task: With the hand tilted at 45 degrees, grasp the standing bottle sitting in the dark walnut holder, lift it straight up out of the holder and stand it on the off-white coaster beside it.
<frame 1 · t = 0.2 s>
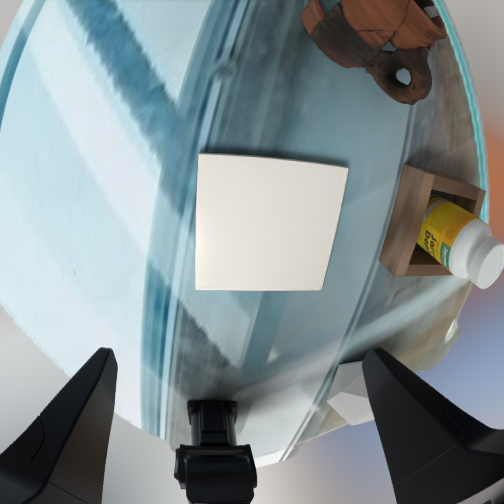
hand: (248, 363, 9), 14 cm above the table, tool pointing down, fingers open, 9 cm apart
broken brown clay pot: (362, 33, 16), on the table
walnut holder: (427, 218, 24), on the table
supplement bottle: (426, 217, 24), resting in walnut holder
off-white coaster: (267, 226, 23), on the table
die: (352, 367, 34), on the table
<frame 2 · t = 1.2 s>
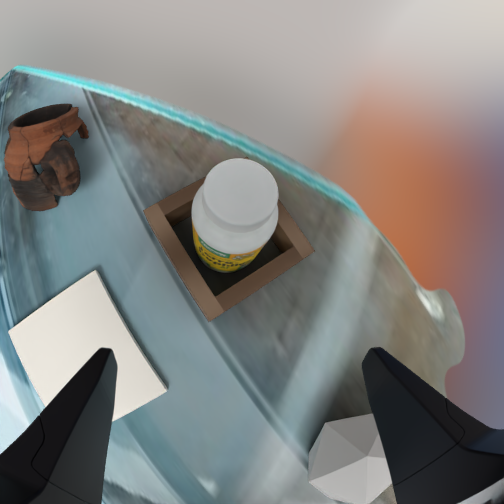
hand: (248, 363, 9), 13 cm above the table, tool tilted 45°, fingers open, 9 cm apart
broken brown clay pot: (59, 173, 23), on the table
walnut holder: (225, 242, 24), on the table
supplement bottle: (225, 242, 24), resting in walnut holder
off-white coaster: (79, 361, 19), on the table
die: (337, 443, 21), on the table
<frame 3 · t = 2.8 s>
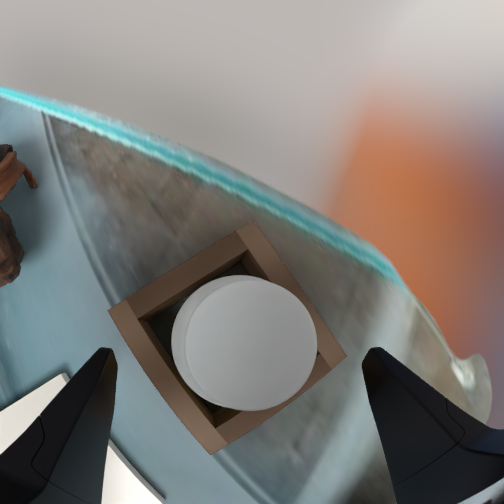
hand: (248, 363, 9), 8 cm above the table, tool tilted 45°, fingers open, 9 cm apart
broken brown clay pot: (7, 236, 16), on the table
walnut holder: (226, 338, 17), on the table
supplement bottle: (225, 338, 17), resting in walnut holder
off-white coaster: (62, 466, 12), on the table
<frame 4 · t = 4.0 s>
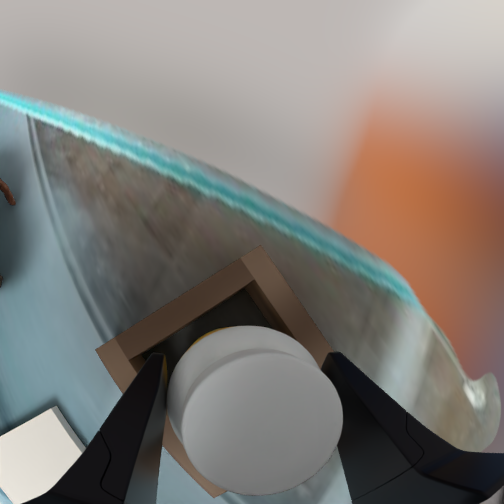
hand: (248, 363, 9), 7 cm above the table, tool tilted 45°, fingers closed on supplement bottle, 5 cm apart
walnut holder: (229, 374, 15), on the table
supplement bottle: (228, 373, 15), resting in walnut holder, touching gripper
off-white coaster: (59, 495, 10), on the table
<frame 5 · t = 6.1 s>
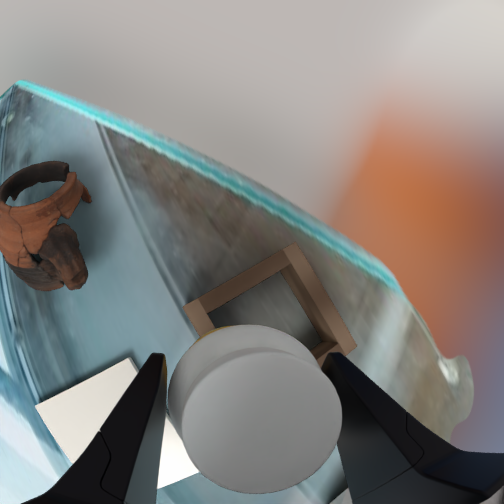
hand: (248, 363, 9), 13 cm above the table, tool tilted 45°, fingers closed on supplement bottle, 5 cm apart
broken brown clay pot: (61, 243, 21), on the table
walnut holder: (266, 329, 22), on the table
supplement bottle: (230, 372, 15), point 6 cm above the table, touching gripper
off-white coaster: (115, 439, 18), on the table
die: (352, 495, 19), on the table
when the fingers open (9 cm above the table, at t = 8.4 s): supplement bottle drops 1 cm, resting on off-white coaster.
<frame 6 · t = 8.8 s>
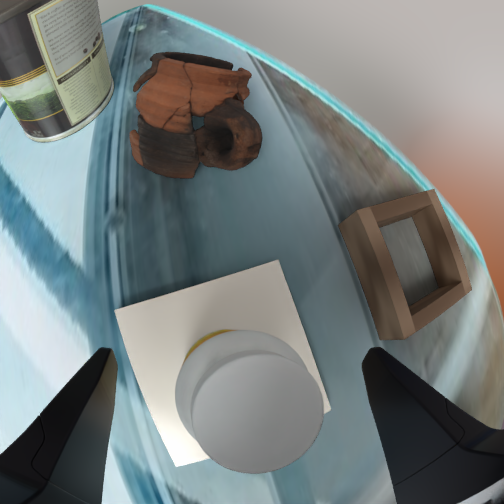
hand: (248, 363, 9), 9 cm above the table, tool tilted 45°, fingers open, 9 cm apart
broken brown clay pot: (195, 139, 21), on the table
walnut holder: (402, 263, 21), on the table
supplement bottle: (226, 371, 16), point 1 cm above the table, touching off-white coaster
off-white coaster: (224, 367, 17), on the table
coffee can: (67, 102, 20), on the table
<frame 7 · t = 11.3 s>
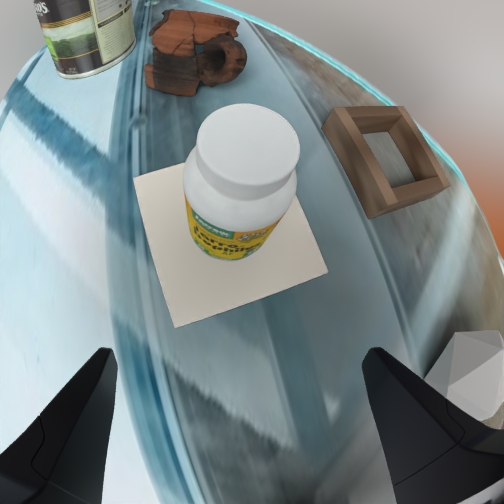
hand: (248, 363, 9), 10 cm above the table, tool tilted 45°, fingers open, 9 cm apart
broken brown clay pot: (196, 73, 24), on the table
walnut holder: (381, 163, 24), on the table
supplement bottle: (227, 225, 20), point 1 cm above the table, touching off-white coaster
off-white coaster: (226, 226, 20), on the table
die: (442, 376, 20), on the table
coffee can: (96, 53, 23), on the table
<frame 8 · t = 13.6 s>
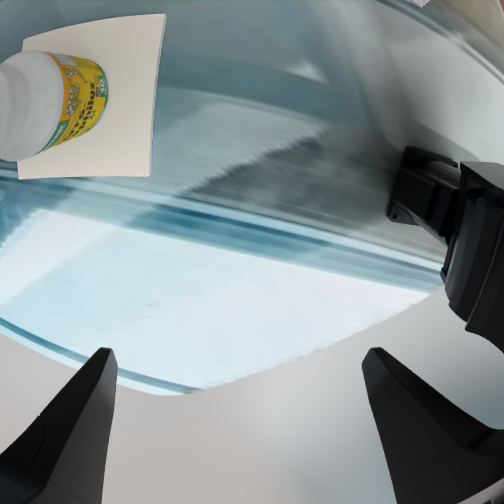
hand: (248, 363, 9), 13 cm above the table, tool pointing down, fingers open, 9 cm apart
supplement bottle: (78, 98, 14), point 1 cm above the table, touching off-white coaster
off-white coaster: (80, 97, 14), on the table
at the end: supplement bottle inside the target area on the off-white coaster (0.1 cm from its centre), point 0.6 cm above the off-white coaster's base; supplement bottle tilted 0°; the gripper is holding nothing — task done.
